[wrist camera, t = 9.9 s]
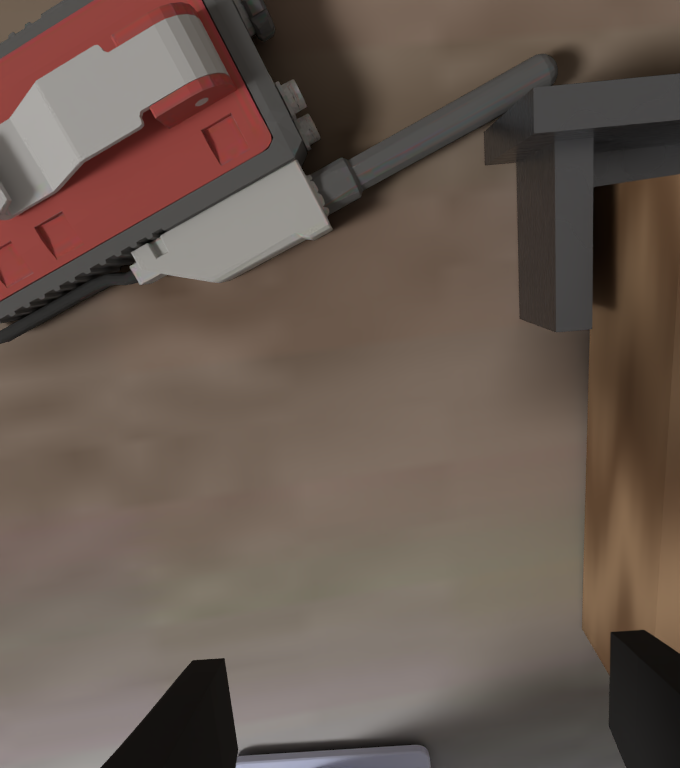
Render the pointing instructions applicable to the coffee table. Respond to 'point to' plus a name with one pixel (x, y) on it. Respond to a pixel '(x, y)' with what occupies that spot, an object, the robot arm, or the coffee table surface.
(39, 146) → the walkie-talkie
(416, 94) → the coffee table surface
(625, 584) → the brown long rectangular block
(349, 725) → the coffee table surface
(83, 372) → the coffee table surface
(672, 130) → the bracket
